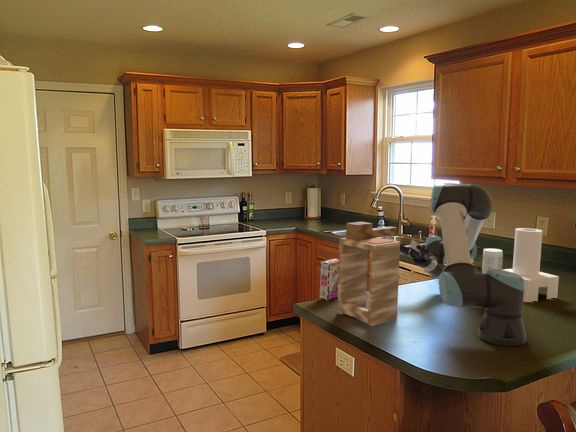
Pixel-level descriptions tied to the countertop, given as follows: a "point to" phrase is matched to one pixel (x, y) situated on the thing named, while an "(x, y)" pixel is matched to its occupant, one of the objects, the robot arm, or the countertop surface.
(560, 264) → the countertop surface
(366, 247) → the wooden open frame
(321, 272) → the candy bar box
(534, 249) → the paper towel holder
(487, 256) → the supplement tub
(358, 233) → the mallet
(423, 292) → the countertop surface
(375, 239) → the mat
